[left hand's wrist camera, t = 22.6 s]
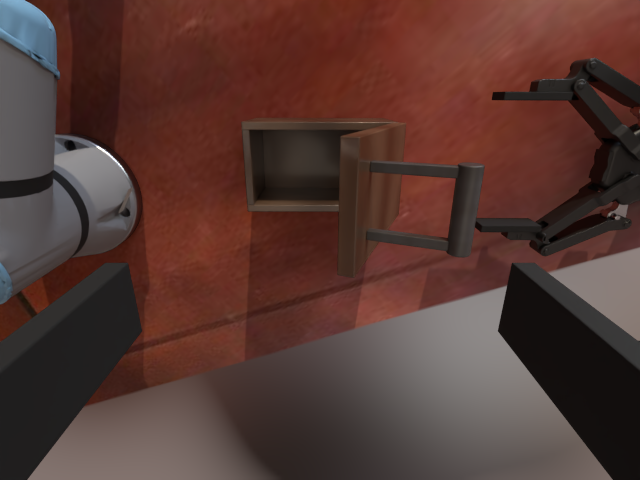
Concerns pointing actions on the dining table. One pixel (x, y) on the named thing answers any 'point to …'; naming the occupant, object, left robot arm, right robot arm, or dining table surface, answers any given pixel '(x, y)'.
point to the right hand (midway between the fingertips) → (486, 164)
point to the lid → (394, 197)
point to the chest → (296, 161)
